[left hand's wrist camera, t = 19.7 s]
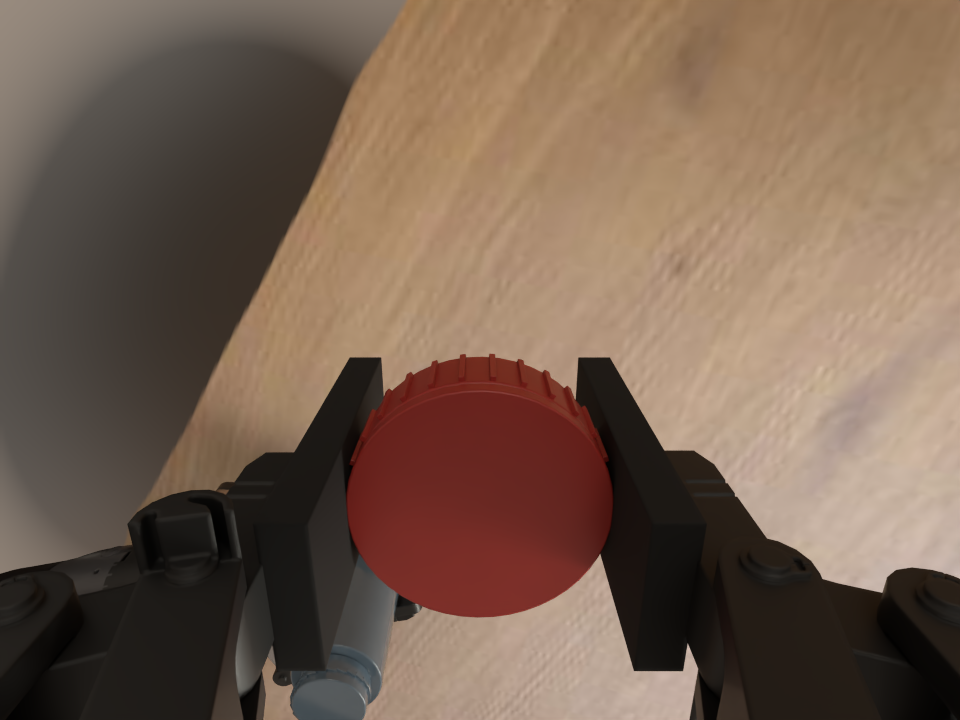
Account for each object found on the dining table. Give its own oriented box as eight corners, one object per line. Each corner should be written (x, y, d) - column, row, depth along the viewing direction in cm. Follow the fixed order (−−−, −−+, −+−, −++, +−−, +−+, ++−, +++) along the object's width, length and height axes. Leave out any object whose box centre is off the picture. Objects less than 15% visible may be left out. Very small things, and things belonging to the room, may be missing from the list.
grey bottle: (395, 472, 40) (347, 659, 25) (424, 521, 41) (393, 724, 27) (339, 495, 40) (261, 689, 26) (369, 542, 42) (311, 751, 27)
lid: (398, 582, 13) (387, 641, 12) (325, 384, 11) (301, 423, 10) (618, 538, 13) (637, 594, 11) (575, 325, 11) (592, 356, 9)
